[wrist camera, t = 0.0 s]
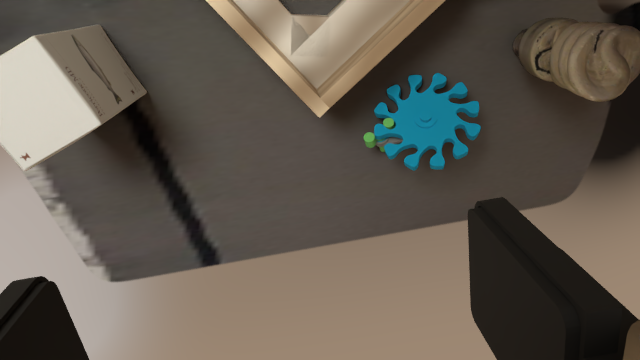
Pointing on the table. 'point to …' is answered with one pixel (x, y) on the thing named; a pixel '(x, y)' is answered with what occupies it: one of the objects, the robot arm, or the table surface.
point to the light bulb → (581, 56)
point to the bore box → (324, 41)
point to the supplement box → (60, 91)
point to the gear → (424, 122)
